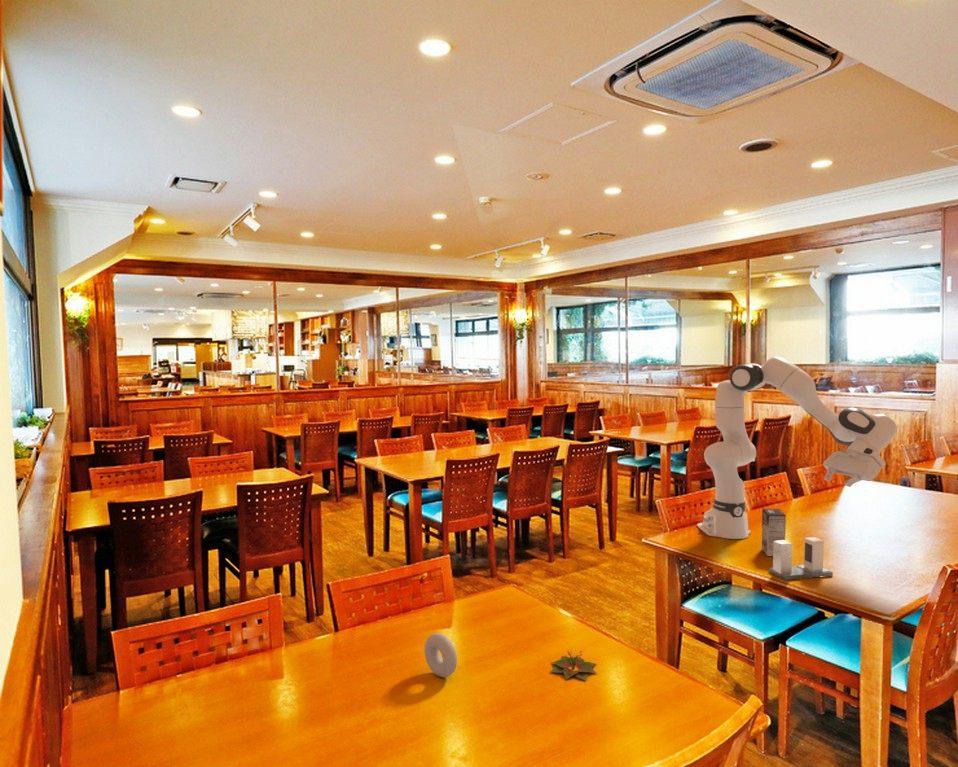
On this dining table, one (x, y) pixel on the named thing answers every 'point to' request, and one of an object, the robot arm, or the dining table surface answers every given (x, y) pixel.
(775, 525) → the coffee box
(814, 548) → the white box
